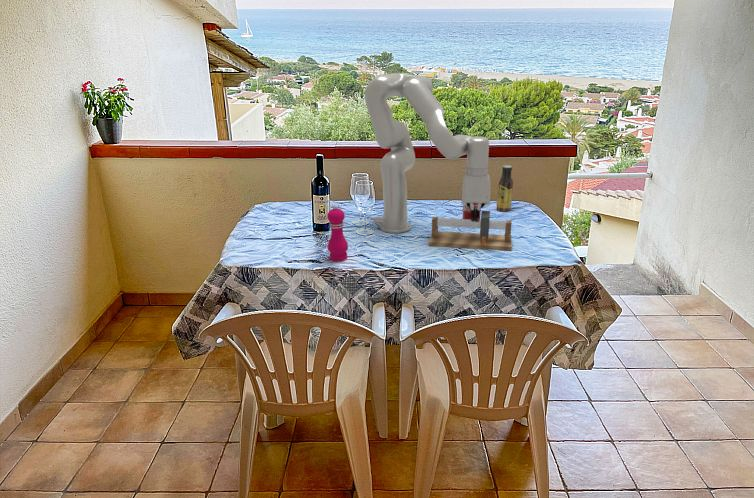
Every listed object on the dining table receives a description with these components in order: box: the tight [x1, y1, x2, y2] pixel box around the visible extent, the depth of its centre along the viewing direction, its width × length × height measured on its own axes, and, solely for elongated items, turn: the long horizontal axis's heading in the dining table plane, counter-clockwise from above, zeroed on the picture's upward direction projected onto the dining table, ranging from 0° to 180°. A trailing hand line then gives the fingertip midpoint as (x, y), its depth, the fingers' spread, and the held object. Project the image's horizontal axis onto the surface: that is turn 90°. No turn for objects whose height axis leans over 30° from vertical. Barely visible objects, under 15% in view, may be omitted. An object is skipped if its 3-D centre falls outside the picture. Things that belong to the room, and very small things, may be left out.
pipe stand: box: [428, 216, 513, 252], centre depth 194 cm, size 30×12×9 cm, turn 77°
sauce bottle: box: [496, 164, 514, 212], centre depth 227 cm, size 7×6×20 cm
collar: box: [479, 210, 491, 238], centre depth 192 cm, size 3×8×8 cm, turn 167°
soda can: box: [461, 203, 482, 220], centre depth 213 cm, size 7×7×12 cm
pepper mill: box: [327, 204, 349, 262], centre depth 181 cm, size 7×7×20 cm
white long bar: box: [437, 217, 506, 230], centre depth 193 cm, size 25×2×2 cm, turn 77°
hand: (475, 219), depth 195 cm, fingers closed
